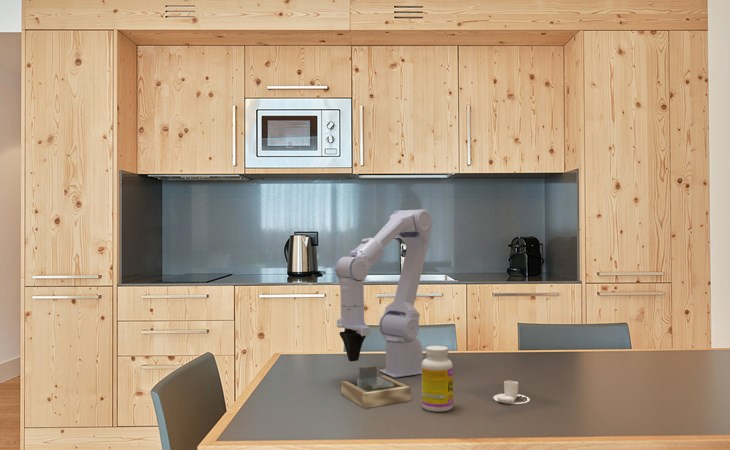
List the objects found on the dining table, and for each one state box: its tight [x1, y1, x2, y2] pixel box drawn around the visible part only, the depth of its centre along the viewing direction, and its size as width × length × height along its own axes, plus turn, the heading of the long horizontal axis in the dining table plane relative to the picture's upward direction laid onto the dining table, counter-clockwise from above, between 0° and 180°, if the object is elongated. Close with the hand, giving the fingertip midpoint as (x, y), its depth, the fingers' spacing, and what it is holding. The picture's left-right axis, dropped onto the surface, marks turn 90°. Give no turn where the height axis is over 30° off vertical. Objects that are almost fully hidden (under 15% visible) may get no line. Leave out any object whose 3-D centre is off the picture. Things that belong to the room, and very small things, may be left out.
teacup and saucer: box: [493, 380, 531, 405], centre depth 131 cm, size 9×8×4 cm
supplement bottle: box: [421, 345, 454, 413], centre depth 125 cm, size 7×7×13 cm
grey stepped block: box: [356, 365, 394, 392], centre depth 133 cm, size 8×6×6 cm
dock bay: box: [340, 374, 412, 409], centre depth 133 cm, size 11×12×3 cm
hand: (353, 360), depth 144 cm, fingers closed
